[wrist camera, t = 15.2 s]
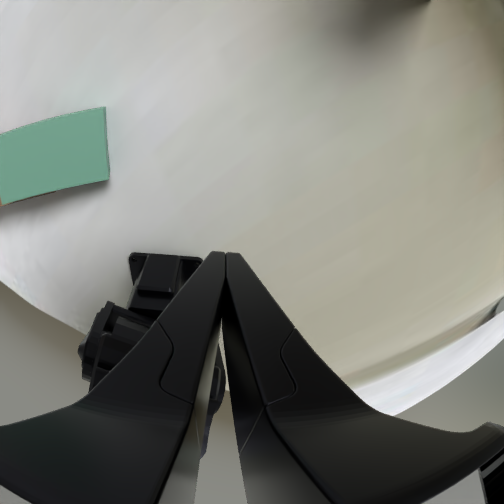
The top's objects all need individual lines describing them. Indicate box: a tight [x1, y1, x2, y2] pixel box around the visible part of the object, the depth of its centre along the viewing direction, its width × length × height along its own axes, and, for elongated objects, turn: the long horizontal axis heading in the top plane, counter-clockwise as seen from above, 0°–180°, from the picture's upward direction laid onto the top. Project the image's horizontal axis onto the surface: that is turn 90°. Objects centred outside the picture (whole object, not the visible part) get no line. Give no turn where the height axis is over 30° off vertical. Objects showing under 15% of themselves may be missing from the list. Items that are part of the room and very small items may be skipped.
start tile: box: [0, 107, 110, 205], centre depth 14 cm, size 2×5×9 cm
